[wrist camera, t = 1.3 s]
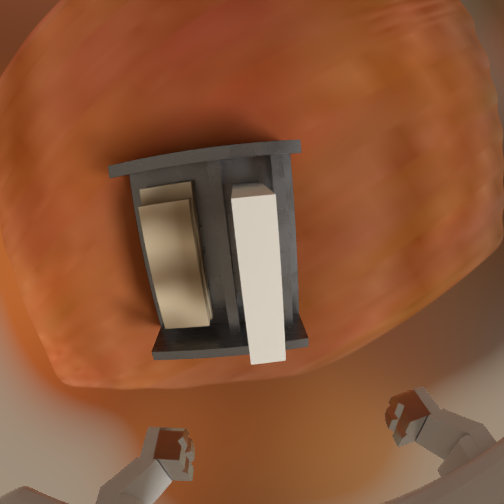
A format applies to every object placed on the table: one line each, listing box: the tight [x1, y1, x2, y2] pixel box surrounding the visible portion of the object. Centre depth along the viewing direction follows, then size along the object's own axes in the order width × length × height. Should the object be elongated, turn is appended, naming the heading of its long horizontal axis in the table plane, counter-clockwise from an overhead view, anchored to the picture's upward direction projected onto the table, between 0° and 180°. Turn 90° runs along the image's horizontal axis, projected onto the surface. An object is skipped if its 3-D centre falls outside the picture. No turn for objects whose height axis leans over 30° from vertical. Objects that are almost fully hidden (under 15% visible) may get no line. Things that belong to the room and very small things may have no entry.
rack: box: [108, 140, 308, 360], centre depth 30 cm, size 22×18×7 cm
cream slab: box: [231, 182, 286, 364], centre depth 27 cm, size 14×3×12 cm, turn 6°
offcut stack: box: [138, 180, 213, 329], centre depth 30 cm, size 16×6×4 cm, turn 6°
